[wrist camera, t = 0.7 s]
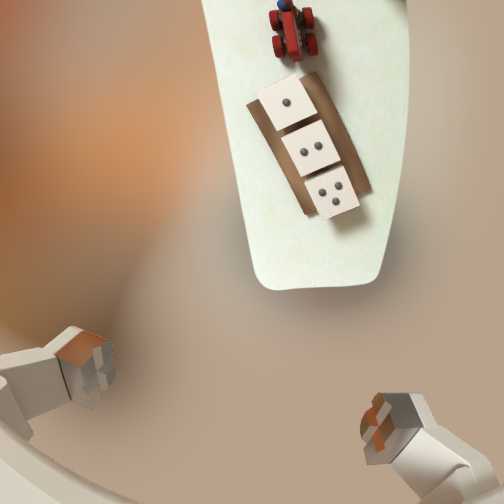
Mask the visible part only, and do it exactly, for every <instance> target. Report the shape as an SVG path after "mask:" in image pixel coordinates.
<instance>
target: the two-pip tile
mask: <svg viewBox="0 0 504 504" xmlns="http://www.w3.org/2000/svg"><path fill="white" fill-rule="evenodd" d="M281 139H282V141H283V143H284V145H285V147H286V149H287V151H288V153H289V154H290V156H291V158H292V160H293V162H294V164H295V166H296V168H297V170H298V172H299V174H300V176H301V177H302V176H304V175H307V174H309V173H311V172H314V171H316V170H318V169H321V168H323V167H325V166H328V165H330V164H332V163H335V162H337V161H340V157H339V155H338V153H337V151H336V149H335V147H334V145H333V142H332V140H331V138H330V136H329V134H328V132H327V130H326V128H325V126H324V124H323V122H322V120H318V121H316V122H314V123H312V124H309V125H307V126H305V127H303V128H300V129H298V130H296V131H294V132H292V133H290V134H288V135H285V136H283V137H282V138H281Z"/></svg>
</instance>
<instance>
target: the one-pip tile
mask: <svg viewBox="0 0 504 504" xmlns="http://www.w3.org/2000/svg"><path fill="white" fill-rule="evenodd" d="M256 95H257V97H258V99H259V100H260V102H261V104H262V105H263V107H264V109H265V111H266V112H267V114H268V116H269V118H270V119H271V121H272V123H273V125H274V127H275V128H276V130H277V131H279V130H281V129H283V128H285V127H287V126H289V125H292V124H294V123H296V122H298V121H300V120H302V119H305V118H307V117H309V116H311V115H314V114H316V113H317V111H316V109H315V107H314V105H313V103H312V102H311V100H310V98H309V96H308V94H307V92H306V91H305V89H304V87H303V85H302V84H301V82H300V80H299V79H298V77H297V75H296V74H294V75H292V76H290V77H288V78H285V79H283V80H281V81H279V82H277V83H275V84H273V85H271V86H269V87H267V88H265V89H263V90H261V91H259V92H257V93H256Z"/></svg>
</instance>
